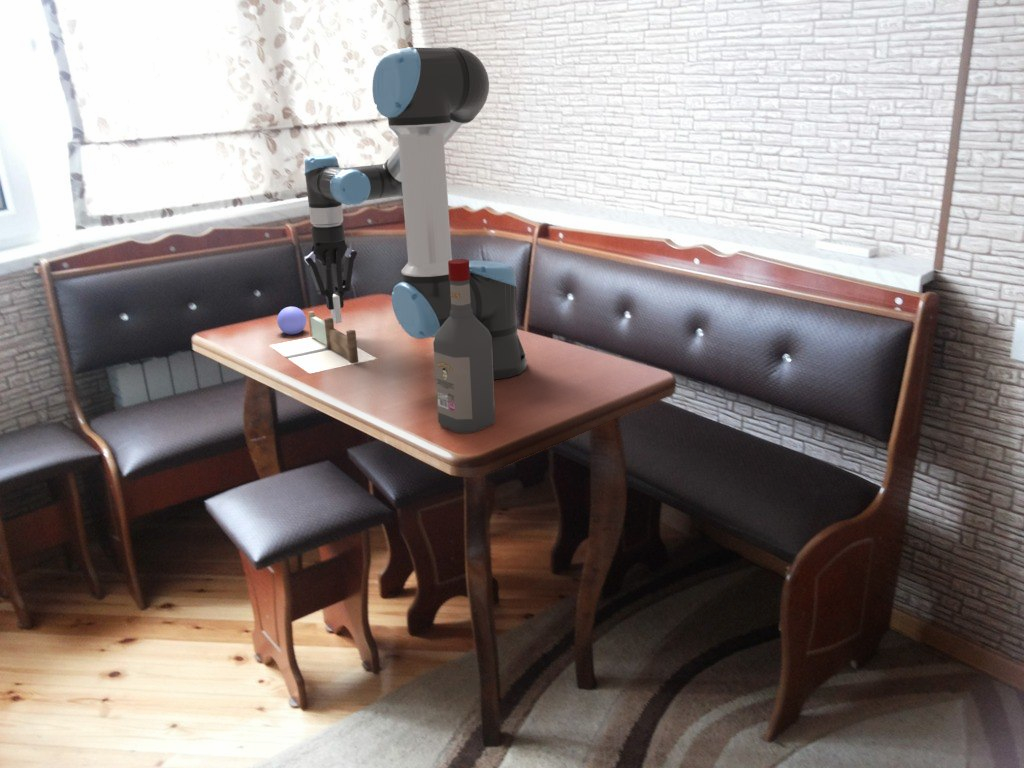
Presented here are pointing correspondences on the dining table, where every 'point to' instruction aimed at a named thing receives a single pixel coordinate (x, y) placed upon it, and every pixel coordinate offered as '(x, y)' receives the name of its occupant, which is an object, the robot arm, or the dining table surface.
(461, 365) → the liquor
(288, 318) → the sphere
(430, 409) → the dining table surface
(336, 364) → the card
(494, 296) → the robot arm
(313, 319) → the folding fence panel
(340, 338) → the fixed fence section
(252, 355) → the dining table surface
